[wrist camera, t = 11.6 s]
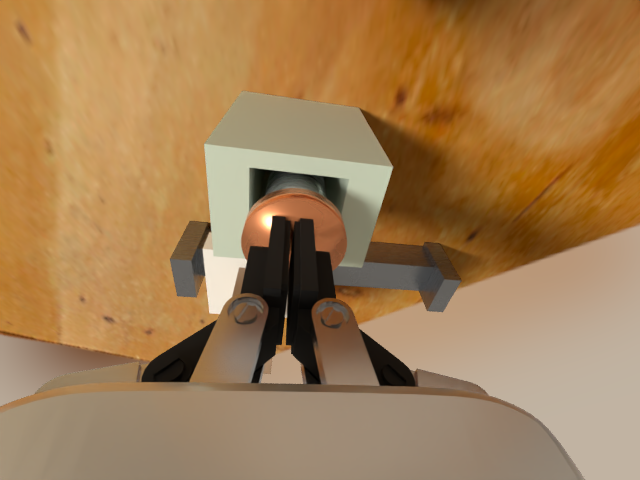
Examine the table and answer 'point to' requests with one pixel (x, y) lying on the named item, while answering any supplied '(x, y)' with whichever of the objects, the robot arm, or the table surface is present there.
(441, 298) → the rail
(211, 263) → the carriage
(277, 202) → the jar with copper lid
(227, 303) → the robot arm
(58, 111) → the table surface
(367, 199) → the pale green open box
